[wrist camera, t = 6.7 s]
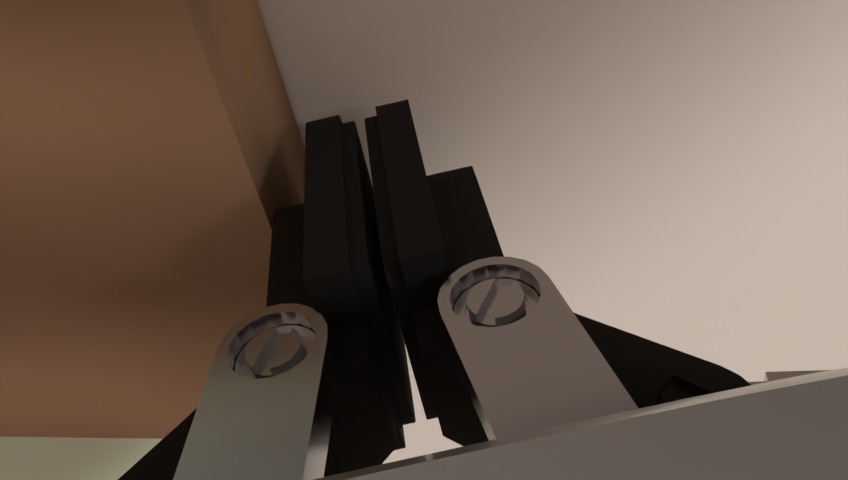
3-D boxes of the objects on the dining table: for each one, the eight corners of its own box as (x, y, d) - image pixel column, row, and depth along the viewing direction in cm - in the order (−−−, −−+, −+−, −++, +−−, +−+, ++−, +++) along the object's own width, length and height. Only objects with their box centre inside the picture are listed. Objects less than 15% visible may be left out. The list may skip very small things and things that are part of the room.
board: (-12, -773, 8) (-121, -935, 6) (1248, -1063, 8) (1573, -1326, 6) (391, 441, 21) (399, 517, 19) (856, 341, 21) (912, 408, 19)
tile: (-319, -62, 11) (-457, -17, 10) (205, -160, 9) (136, -121, 8) (14, 366, 17) (-38, 435, 16) (373, 362, 15) (353, 441, 14)
